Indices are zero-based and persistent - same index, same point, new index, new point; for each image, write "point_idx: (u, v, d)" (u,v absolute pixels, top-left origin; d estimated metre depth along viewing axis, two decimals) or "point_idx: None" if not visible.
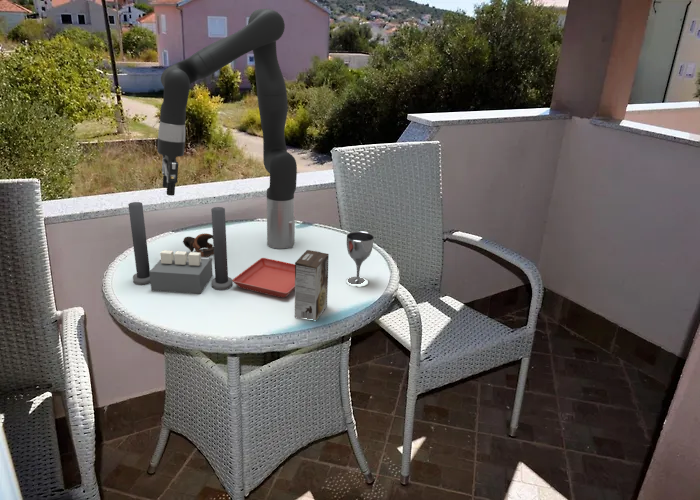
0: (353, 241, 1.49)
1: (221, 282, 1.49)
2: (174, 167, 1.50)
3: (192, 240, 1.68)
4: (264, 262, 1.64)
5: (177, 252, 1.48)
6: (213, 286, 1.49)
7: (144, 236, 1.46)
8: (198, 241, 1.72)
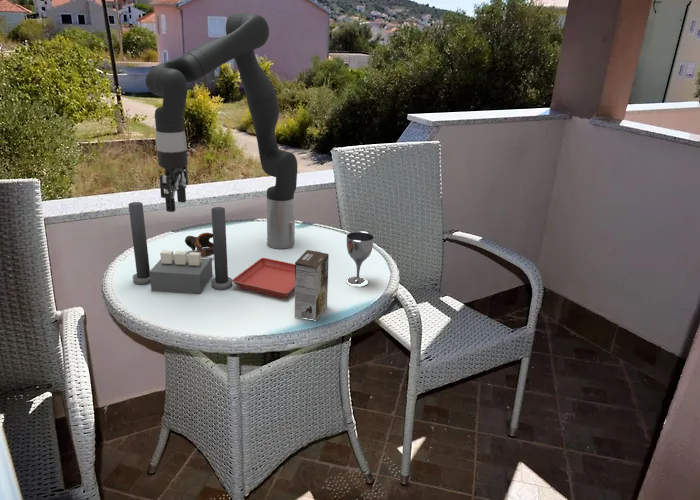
0: (353, 241, 1.49)
1: (221, 282, 1.49)
2: (165, 181, 1.33)
3: (194, 239, 1.69)
4: (264, 262, 1.64)
5: (177, 252, 1.48)
6: (213, 286, 1.49)
7: (144, 236, 1.46)
8: (200, 240, 1.73)
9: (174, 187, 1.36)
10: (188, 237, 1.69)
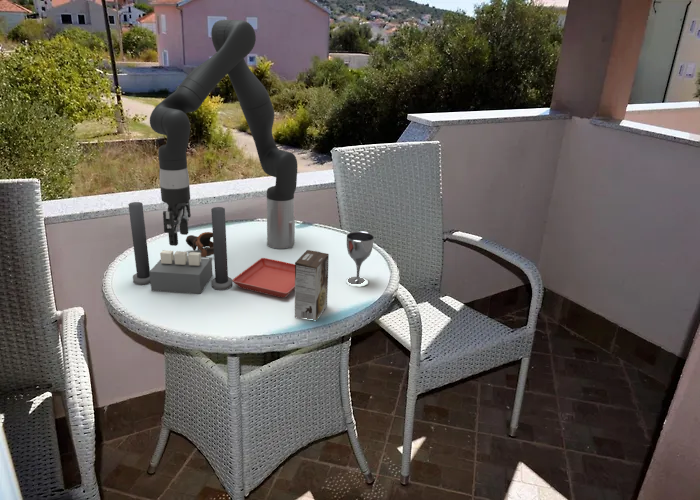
0: (353, 241, 1.49)
1: (221, 282, 1.49)
2: (168, 216, 1.37)
3: (195, 239, 1.69)
4: (264, 262, 1.64)
5: (177, 252, 1.48)
6: (213, 286, 1.49)
7: (144, 236, 1.46)
8: (200, 240, 1.73)
9: (177, 222, 1.40)
10: (189, 236, 1.70)
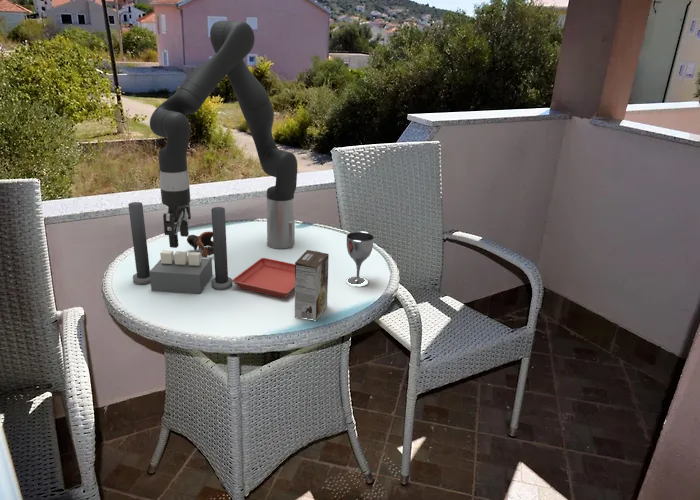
0: (353, 241, 1.49)
1: (221, 282, 1.49)
2: (168, 219, 1.37)
3: (196, 238, 1.70)
4: (264, 262, 1.64)
5: (177, 252, 1.48)
6: (213, 286, 1.49)
7: (144, 236, 1.46)
8: (201, 239, 1.74)
9: (177, 224, 1.40)
10: (190, 236, 1.70)
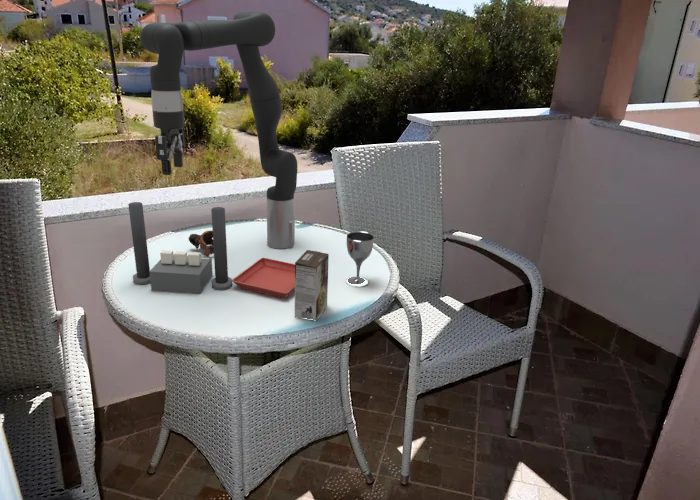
0: (353, 241, 1.49)
1: (221, 282, 1.49)
2: (161, 141, 1.29)
3: (198, 237, 1.71)
4: (264, 262, 1.64)
5: (177, 252, 1.48)
6: (213, 286, 1.49)
7: (144, 236, 1.46)
8: (203, 238, 1.74)
9: (170, 149, 1.32)
10: (192, 235, 1.71)
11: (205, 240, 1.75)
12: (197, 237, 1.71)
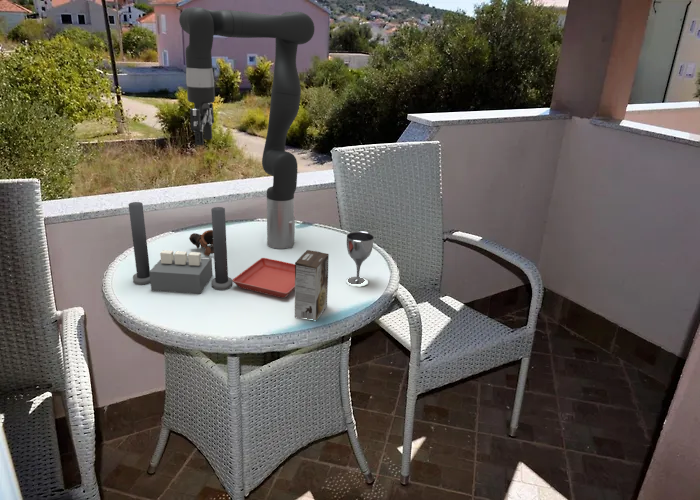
0: (353, 241, 1.49)
1: (221, 282, 1.49)
2: (195, 113, 1.44)
3: (199, 237, 1.71)
4: (264, 262, 1.64)
5: (177, 252, 1.48)
6: (213, 286, 1.49)
7: (144, 236, 1.46)
8: (204, 238, 1.75)
9: (203, 121, 1.47)
10: (193, 235, 1.71)
11: (206, 240, 1.76)
12: (198, 237, 1.71)
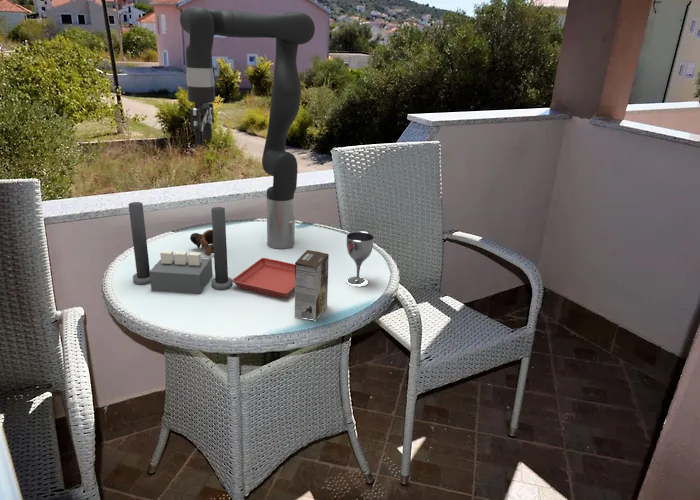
0: (353, 241, 1.49)
1: (221, 282, 1.49)
2: (195, 113, 1.44)
3: (199, 236, 1.71)
4: (264, 262, 1.64)
5: (177, 252, 1.48)
6: (213, 286, 1.49)
7: (144, 236, 1.46)
8: (204, 237, 1.75)
9: (203, 121, 1.47)
10: (193, 234, 1.72)
11: (206, 239, 1.76)
12: (199, 236, 1.71)
